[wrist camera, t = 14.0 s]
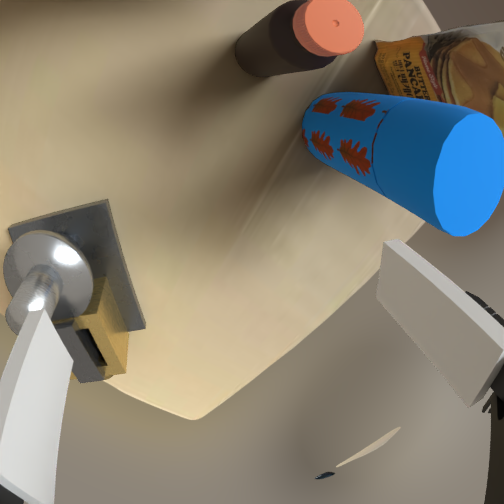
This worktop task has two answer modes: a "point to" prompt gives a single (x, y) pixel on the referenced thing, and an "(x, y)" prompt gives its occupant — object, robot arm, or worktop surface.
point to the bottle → (300, 37)
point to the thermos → (413, 154)
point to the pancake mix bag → (449, 68)
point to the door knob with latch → (74, 278)
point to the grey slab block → (81, 351)
